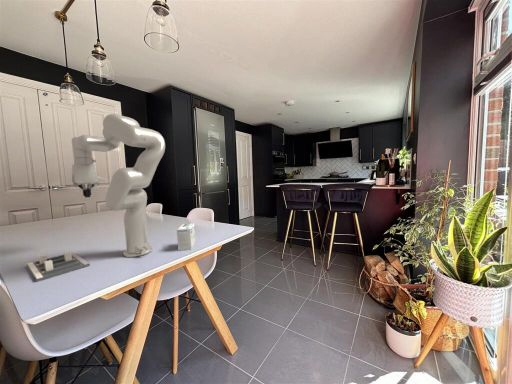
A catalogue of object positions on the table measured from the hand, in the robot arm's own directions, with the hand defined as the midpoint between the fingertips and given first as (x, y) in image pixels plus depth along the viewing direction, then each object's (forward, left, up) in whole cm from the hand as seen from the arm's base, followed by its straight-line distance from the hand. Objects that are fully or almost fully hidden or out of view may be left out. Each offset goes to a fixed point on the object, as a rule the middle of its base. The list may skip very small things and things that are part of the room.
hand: (87, 197), depth 113 cm
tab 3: (-16, +13, -26) cm, 33 cm away
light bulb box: (-44, -28, -27) cm, 59 cm away
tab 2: (-22, +20, -26) cm, 40 cm away
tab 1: (-10, +21, -26) cm, 35 cm away
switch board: (-16, +17, -27) cm, 36 cm away
